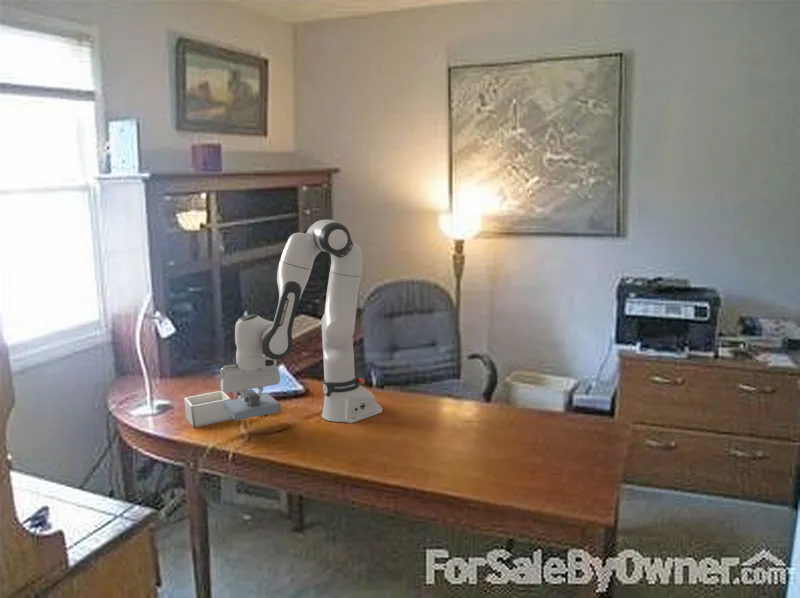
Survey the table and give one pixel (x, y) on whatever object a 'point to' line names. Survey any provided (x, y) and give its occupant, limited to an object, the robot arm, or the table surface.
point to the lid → (251, 406)
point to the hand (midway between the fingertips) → (251, 400)
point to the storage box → (206, 409)
